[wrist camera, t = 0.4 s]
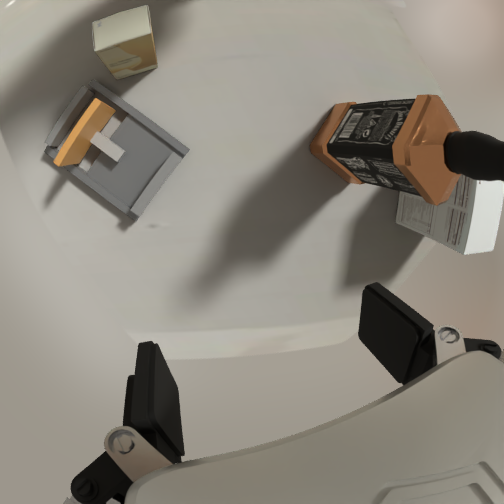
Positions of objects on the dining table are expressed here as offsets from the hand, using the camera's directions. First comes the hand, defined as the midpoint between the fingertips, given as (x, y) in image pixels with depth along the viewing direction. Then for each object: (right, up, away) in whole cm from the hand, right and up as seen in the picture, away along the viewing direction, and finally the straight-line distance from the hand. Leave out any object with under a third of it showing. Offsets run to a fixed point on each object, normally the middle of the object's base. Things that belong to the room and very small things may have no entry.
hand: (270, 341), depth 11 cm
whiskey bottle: (+14, +21, +28) cm, 38 cm away
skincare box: (-17, +30, +17) cm, 38 cm away
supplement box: (+33, +16, +36) cm, 51 cm away
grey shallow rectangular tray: (-20, +18, +20) cm, 33 cm away
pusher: (-20, +18, +19) cm, 33 cm away
